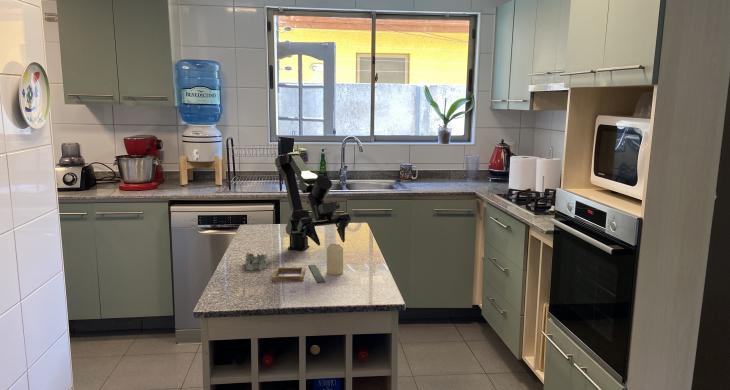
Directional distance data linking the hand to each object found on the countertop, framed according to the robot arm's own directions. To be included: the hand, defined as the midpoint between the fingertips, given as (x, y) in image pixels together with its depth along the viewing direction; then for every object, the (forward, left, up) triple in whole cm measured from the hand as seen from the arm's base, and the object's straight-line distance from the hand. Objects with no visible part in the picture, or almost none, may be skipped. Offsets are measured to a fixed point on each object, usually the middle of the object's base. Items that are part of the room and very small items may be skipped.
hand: (331, 243), depth 176 cm
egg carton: (-27, -6, -10) cm, 30 cm away
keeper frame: (-10, -11, -10) cm, 18 cm away
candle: (+2, -1, -10) cm, 10 cm away
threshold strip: (-3, -5, -10) cm, 12 cm away
